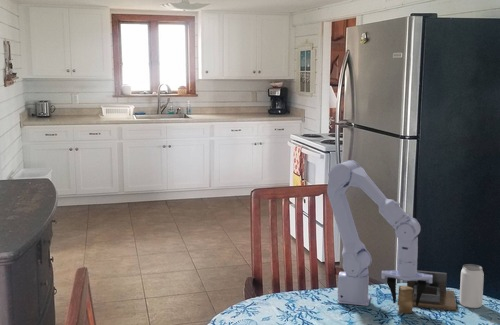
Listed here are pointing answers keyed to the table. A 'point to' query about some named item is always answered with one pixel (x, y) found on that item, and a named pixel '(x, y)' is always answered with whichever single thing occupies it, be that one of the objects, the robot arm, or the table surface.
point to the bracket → (434, 293)
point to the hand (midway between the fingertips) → (405, 303)
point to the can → (471, 286)
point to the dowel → (405, 299)
